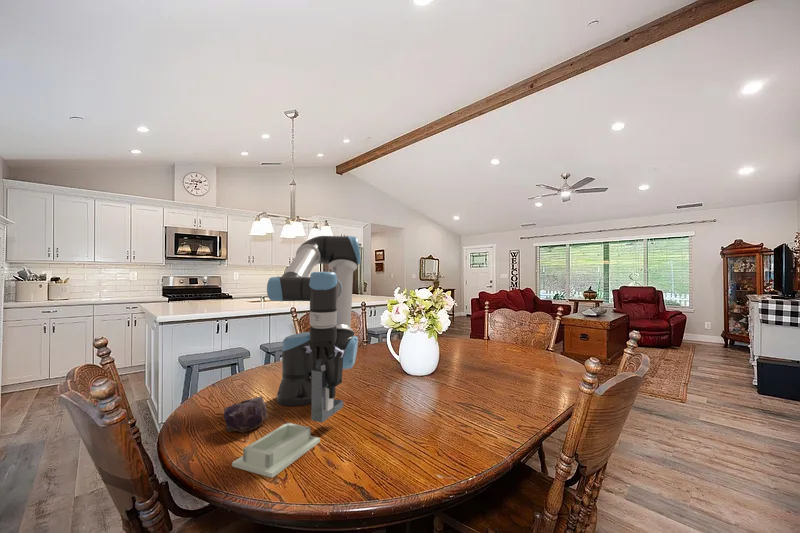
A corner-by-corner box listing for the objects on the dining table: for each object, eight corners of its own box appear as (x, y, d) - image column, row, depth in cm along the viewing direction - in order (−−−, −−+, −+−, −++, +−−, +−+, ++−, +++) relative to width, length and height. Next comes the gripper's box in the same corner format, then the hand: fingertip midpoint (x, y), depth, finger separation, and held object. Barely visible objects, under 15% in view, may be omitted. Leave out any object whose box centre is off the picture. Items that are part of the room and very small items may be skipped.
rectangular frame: (232, 466, 82) (232, 449, 82) (284, 433, 99) (284, 419, 99) (272, 478, 78) (272, 459, 78) (320, 441, 94) (320, 426, 94)
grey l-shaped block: (311, 420, 98) (311, 370, 97) (333, 405, 108) (333, 360, 108) (322, 422, 96) (322, 371, 96) (343, 407, 106) (343, 361, 106)
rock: (226, 430, 104) (228, 444, 95) (221, 402, 103) (222, 413, 94) (268, 416, 109) (272, 428, 100) (263, 389, 109) (268, 399, 100)
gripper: (290, 325, 99) (290, 408, 99) (341, 330, 93) (341, 418, 93) (307, 321, 106) (307, 398, 106) (355, 325, 100) (355, 407, 100)
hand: (323, 407), depth 100 cm, fingers closed on grey l-shaped block, 3 cm apart
